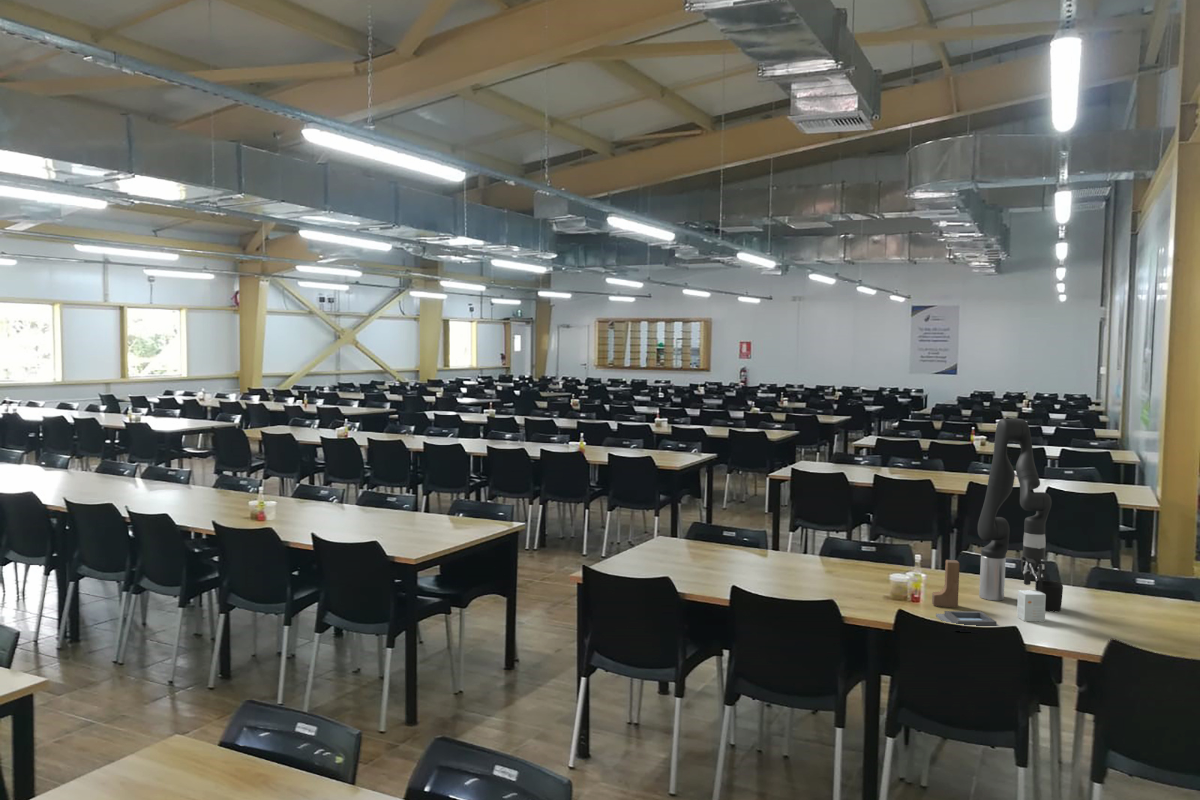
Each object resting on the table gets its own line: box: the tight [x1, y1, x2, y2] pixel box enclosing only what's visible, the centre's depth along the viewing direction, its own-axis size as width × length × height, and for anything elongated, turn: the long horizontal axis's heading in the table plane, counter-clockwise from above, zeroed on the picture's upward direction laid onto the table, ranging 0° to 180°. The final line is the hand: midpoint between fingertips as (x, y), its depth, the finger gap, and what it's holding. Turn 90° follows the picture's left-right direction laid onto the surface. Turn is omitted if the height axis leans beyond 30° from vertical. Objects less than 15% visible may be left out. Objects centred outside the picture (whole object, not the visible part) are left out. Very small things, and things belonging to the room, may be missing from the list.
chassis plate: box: [935, 610, 1000, 626], centre depth 312 cm, size 18×18×3 cm
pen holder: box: [1040, 580, 1064, 613], centre depth 333 cm, size 9×9×10 cm
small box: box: [1016, 589, 1046, 622], centre depth 319 cm, size 8×6×10 cm
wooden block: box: [931, 559, 961, 609], centre depth 335 cm, size 9×4×18 cm, turn 78°
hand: (1032, 587), depth 318 cm, fingers open, 8 cm apart
